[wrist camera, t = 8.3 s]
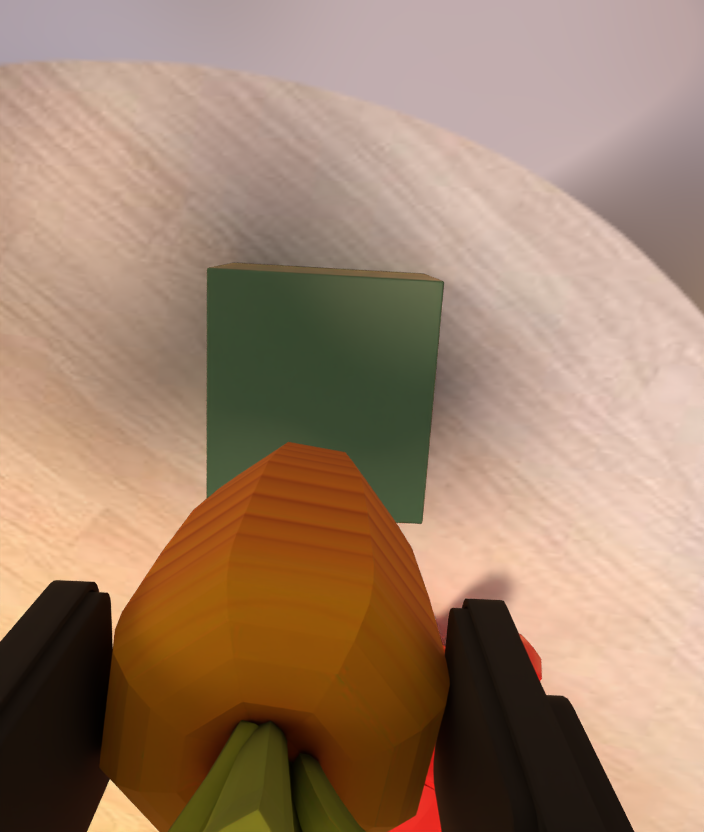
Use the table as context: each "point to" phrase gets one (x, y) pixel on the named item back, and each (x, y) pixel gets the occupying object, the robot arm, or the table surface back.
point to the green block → (324, 371)
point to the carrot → (278, 661)
